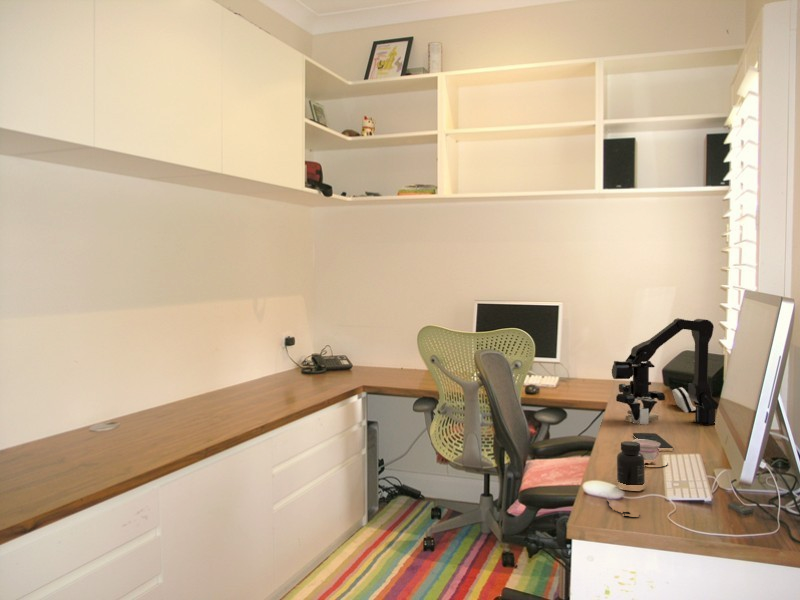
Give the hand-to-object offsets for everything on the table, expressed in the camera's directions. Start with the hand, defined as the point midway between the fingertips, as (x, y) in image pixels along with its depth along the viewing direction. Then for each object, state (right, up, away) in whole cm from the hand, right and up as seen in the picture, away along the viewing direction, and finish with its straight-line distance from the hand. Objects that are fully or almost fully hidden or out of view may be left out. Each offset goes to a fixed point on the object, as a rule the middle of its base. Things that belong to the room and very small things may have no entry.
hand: (640, 419), depth 244 cm
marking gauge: (-1, -1, +2) cm, 3 cm away
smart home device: (-7, -3, -29) cm, 31 cm away
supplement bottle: (-31, -4, -76) cm, 82 cm away
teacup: (-18, -4, -52) cm, 55 cm away
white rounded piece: (+29, -1, +28) cm, 40 cm away
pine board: (+3, -1, +6) cm, 6 cm away
